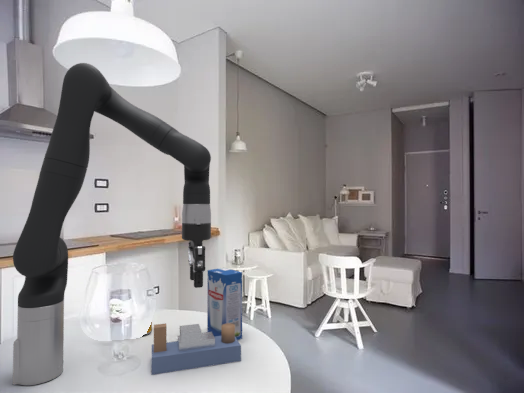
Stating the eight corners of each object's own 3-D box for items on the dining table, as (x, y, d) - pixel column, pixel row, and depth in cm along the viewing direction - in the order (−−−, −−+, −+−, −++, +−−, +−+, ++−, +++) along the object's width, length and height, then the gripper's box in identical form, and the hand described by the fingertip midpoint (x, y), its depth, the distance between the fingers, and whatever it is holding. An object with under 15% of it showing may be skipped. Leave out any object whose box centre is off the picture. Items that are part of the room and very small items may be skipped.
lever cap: (179, 351, 82) (179, 333, 82) (177, 343, 87) (177, 326, 87) (214, 346, 85) (215, 328, 85) (211, 339, 90) (211, 322, 90)
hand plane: (151, 374, 79) (151, 332, 79) (151, 360, 86) (151, 321, 87) (240, 361, 86) (240, 322, 86) (233, 348, 93) (233, 312, 94)
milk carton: (207, 334, 104) (207, 270, 104) (223, 329, 108) (223, 267, 108) (225, 344, 96) (225, 275, 97) (242, 338, 100) (242, 272, 101)
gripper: (179, 220, 93) (179, 278, 92) (184, 223, 79) (184, 291, 79) (206, 220, 95) (206, 276, 95) (215, 222, 82) (215, 288, 81)
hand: (196, 283), depth 87 cm, fingers open, 8 cm apart
